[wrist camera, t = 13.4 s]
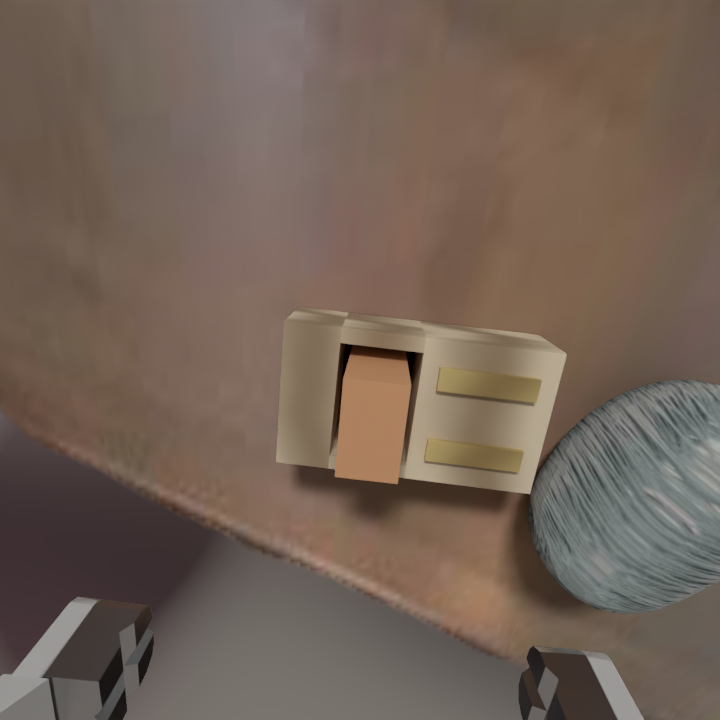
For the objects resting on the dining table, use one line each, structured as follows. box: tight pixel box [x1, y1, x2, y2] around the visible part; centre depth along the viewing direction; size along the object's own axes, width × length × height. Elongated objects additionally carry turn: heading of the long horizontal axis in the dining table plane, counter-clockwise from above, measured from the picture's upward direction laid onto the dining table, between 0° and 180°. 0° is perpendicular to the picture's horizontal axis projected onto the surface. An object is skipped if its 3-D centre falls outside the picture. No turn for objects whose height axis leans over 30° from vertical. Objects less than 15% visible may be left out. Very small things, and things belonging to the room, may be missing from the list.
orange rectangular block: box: [335, 345, 411, 484], centre depth 23 cm, size 3×5×7 cm, turn 175°
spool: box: [528, 380, 720, 614], centre depth 23 cm, size 14×10×10 cm
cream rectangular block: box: [276, 307, 567, 494], centre depth 24 cm, size 14×8×4 cm, turn 84°
